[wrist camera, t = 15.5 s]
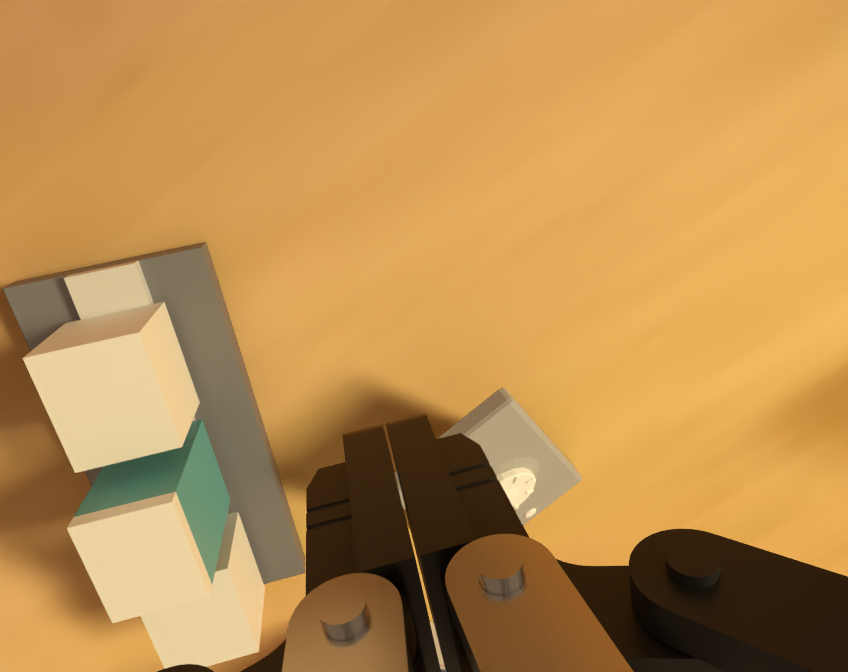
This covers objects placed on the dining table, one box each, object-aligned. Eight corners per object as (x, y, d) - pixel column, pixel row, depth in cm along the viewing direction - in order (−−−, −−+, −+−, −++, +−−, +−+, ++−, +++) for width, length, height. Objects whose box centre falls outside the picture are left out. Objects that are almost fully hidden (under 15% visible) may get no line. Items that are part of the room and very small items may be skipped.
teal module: (120, 438, 33) (66, 528, 26) (202, 419, 34) (171, 501, 26) (153, 518, 35) (112, 623, 28) (230, 499, 36) (209, 597, 28)
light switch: (495, 564, 42) (392, 516, 31) (454, 496, 46) (350, 431, 34) (592, 489, 41) (523, 412, 30) (542, 427, 45) (465, 338, 34)
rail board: (16, 281, 32) (-63, 323, 25) (206, 241, 33) (179, 272, 26) (155, 597, 40) (123, 693, 33) (304, 557, 41) (303, 642, 34)
